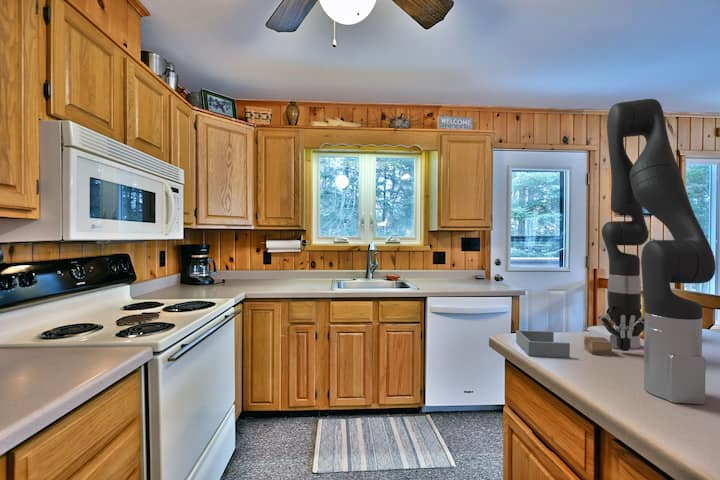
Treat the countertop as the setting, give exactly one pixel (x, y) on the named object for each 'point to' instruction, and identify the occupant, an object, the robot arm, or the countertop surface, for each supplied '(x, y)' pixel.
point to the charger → (611, 336)
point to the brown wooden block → (597, 345)
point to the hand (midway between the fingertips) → (623, 350)
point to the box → (541, 344)
